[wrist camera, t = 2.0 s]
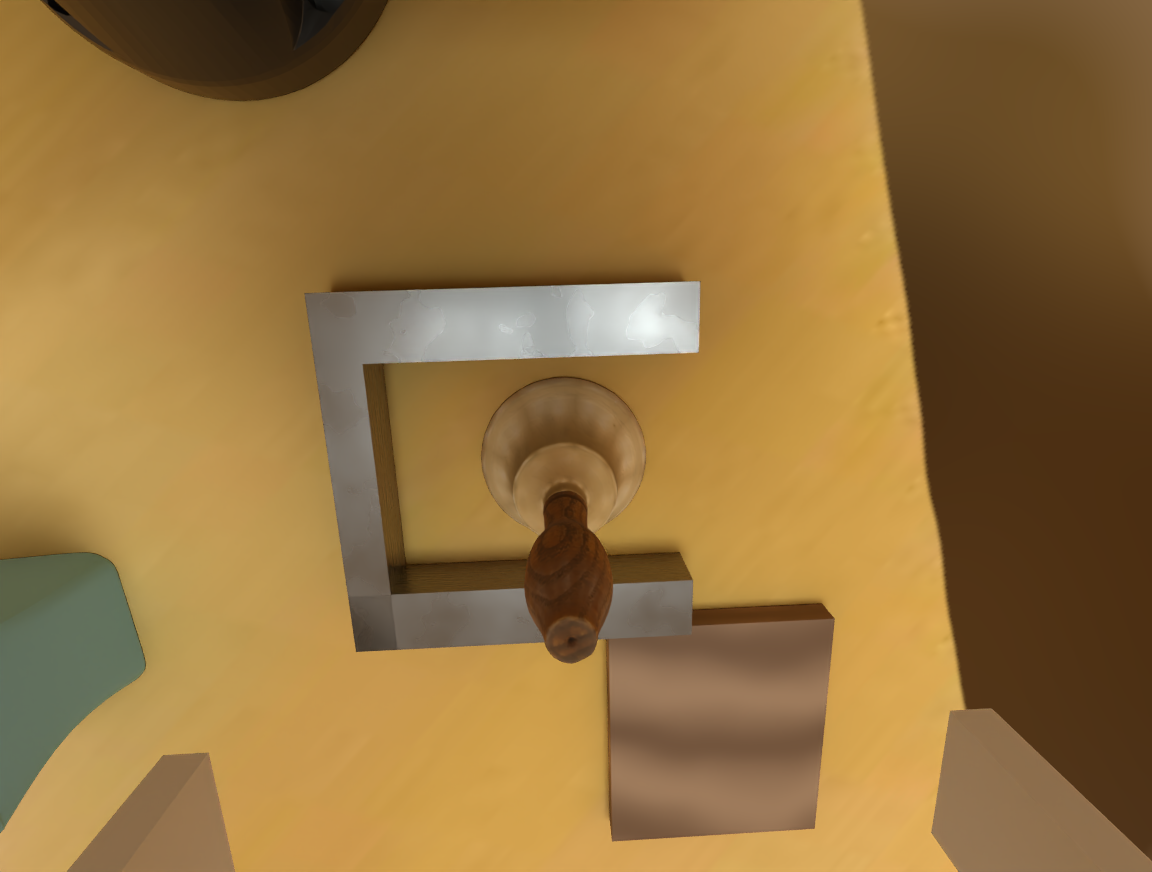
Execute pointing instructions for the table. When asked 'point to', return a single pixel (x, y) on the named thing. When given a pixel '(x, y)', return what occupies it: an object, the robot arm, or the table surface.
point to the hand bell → (565, 498)
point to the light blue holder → (57, 657)
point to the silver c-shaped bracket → (366, 463)
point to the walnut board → (719, 724)
